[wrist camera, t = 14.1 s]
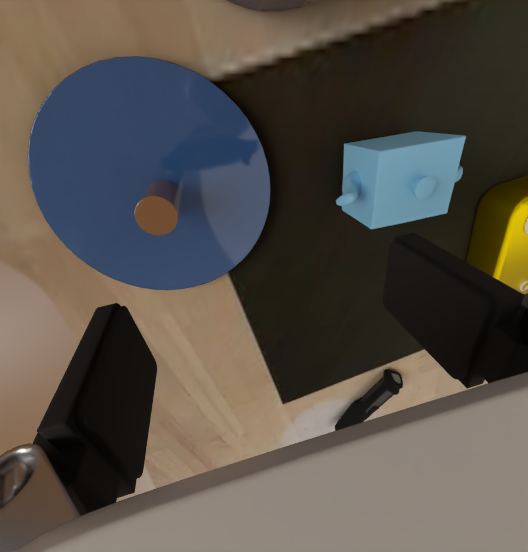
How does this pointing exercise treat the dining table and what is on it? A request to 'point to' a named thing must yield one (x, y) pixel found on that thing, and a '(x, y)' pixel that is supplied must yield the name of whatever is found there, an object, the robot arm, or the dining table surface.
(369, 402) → the electric trimmer
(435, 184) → the teapot
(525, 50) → the dining table surface
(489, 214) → the element tile
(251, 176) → the lid
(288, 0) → the pot
